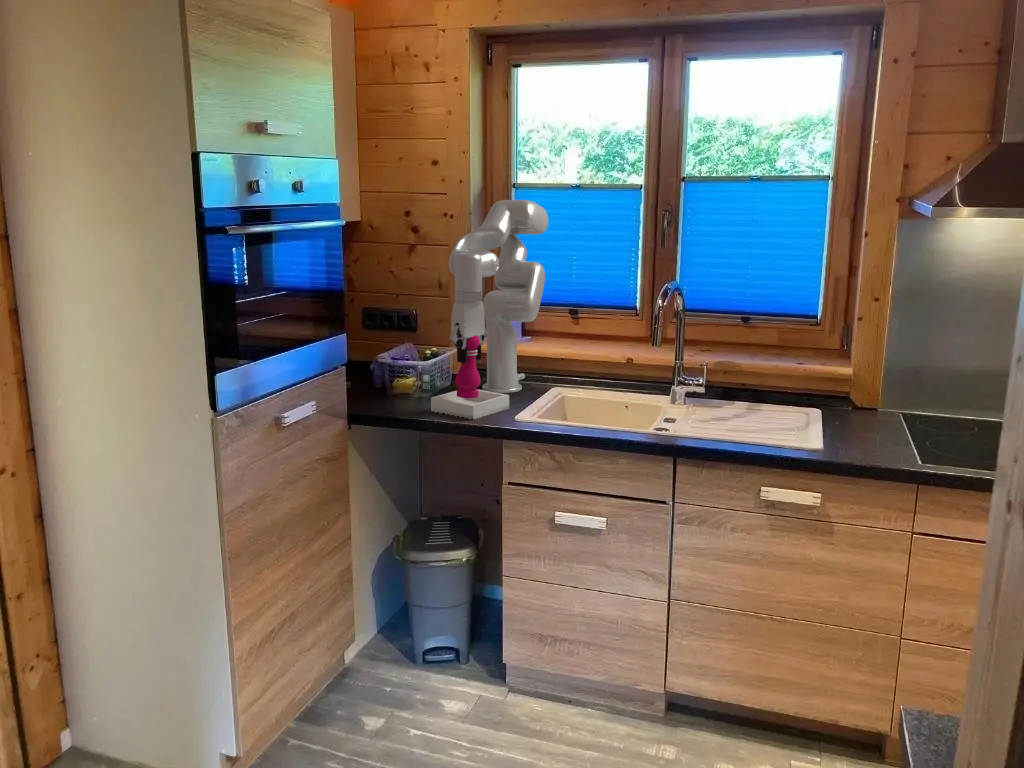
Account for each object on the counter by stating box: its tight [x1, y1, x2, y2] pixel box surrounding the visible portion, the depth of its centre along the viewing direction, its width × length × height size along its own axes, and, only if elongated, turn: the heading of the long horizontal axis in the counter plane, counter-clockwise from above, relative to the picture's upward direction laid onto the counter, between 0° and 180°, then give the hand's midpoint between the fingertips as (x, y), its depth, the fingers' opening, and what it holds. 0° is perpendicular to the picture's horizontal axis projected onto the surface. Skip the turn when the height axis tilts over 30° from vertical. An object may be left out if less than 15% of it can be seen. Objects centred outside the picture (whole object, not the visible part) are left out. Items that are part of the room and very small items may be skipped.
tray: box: [430, 388, 510, 421], centre depth 241 cm, size 16×16×4 cm
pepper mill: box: [454, 335, 482, 398], centre depth 238 cm, size 7×7×20 cm
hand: (469, 360), depth 238 cm, fingers closed on pepper mill, 5 cm apart
